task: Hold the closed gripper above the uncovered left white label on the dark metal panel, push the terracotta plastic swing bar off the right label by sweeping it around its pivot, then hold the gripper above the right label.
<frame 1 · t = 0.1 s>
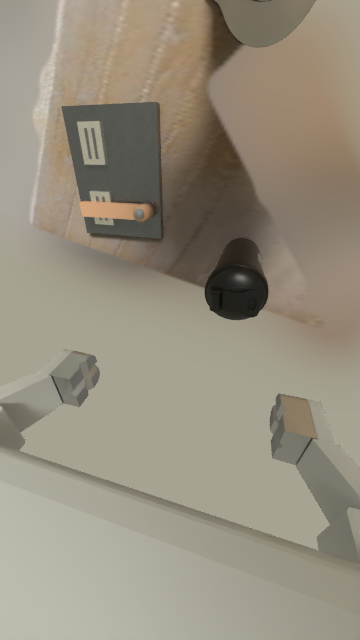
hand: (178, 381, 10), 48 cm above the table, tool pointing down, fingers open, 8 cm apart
label panel: (119, 178, 51), on the table
water bottle: (240, 256, 54), on the table
swing bar: (115, 210, 51), point 4 cm above the table, hinge at 0.0°
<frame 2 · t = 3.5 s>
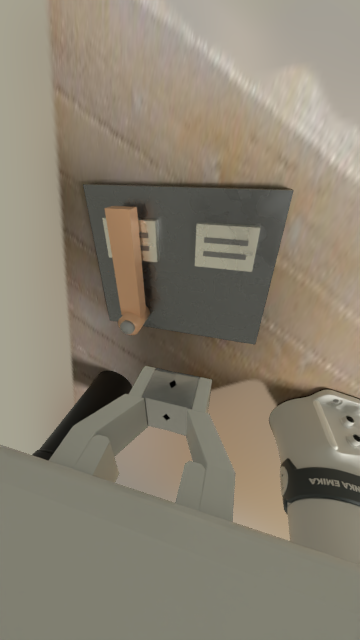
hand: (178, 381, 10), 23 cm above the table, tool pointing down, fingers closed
label panel: (180, 268, 32), on the table
water bottle: (115, 383, 52), on the table
swing bar: (128, 277, 30), point 4 cm above the table, hinge at 0.0°
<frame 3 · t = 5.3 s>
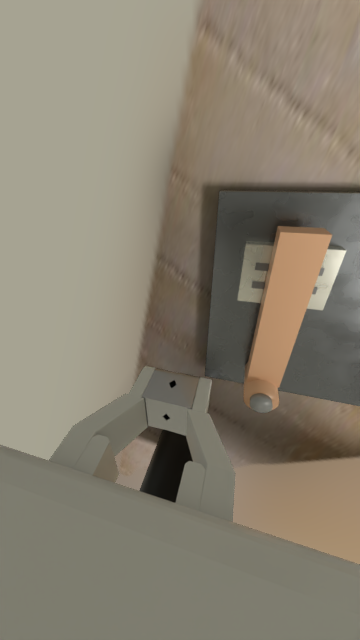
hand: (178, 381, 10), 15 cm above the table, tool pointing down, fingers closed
label panel: (340, 314, 21), on the table
water bottle: (184, 439, 41), on the table
swing bar: (275, 333, 19), point 4 cm above the table, hinge at 0.0°
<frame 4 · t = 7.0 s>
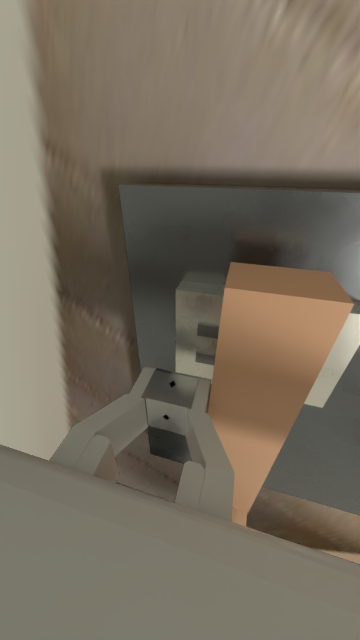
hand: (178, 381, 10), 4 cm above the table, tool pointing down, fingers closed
label panel: (350, 396, 13), on the table
swing bar: (236, 444, 11), point 4 cm above the table, hinge at 0.0°, touching gripper
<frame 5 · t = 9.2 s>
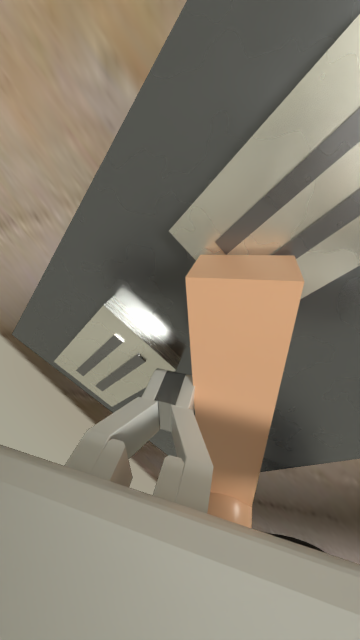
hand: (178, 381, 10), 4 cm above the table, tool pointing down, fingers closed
label panel: (235, 339, 13), on the table
swing bar: (230, 433, 11), point 4 cm above the table, hinge at -42.1°, touching gripper
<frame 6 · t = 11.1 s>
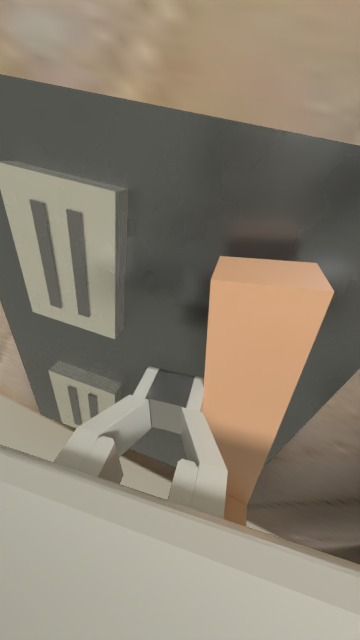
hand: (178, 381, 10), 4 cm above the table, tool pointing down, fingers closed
label panel: (153, 350, 15), on the table
swing bar: (233, 435, 11), point 4 cm above the table, hinge at -78.8°, touching gripper
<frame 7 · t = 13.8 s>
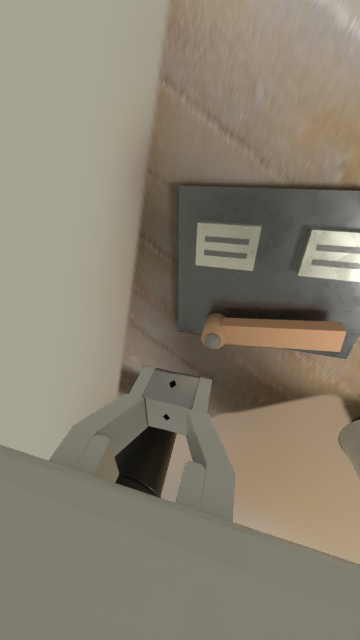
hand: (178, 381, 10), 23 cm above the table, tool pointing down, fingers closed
label panel: (270, 277, 30), on the table
water bottle: (166, 395, 49), on the table
swing bar: (266, 334, 29), point 4 cm above the table, hinge at -82.4°
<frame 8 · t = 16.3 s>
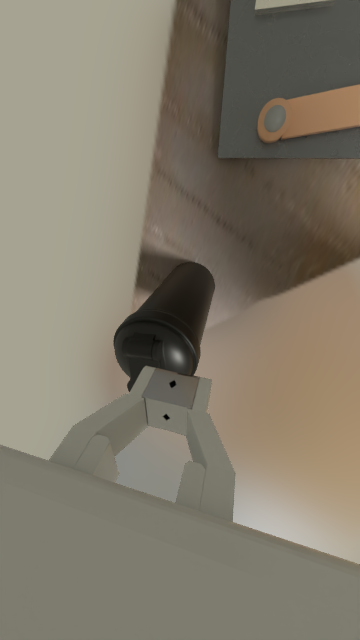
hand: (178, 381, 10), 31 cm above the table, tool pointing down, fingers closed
label panel: (350, 35, 23), on the table
water bottle: (191, 284, 42), on the table
swing bar: (346, 108, 23), point 4 cm above the table, hinge at -82.4°
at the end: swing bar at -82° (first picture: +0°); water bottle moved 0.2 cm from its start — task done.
